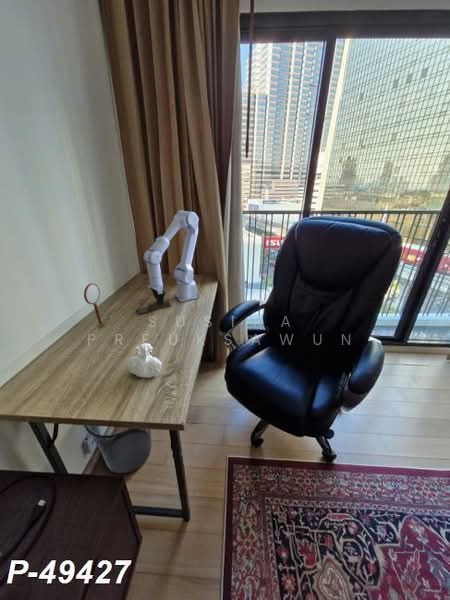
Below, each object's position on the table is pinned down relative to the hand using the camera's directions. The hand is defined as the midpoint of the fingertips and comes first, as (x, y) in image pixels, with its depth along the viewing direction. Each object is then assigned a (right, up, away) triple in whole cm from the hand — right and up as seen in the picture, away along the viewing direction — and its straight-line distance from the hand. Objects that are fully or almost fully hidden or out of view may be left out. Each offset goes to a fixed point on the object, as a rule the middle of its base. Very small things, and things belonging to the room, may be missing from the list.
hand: (159, 301), depth 123 cm
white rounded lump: (+6, -24, -38) cm, 45 cm away
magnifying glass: (-22, -11, -13) cm, 28 cm away
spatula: (-2, -4, 0) cm, 4 cm away
